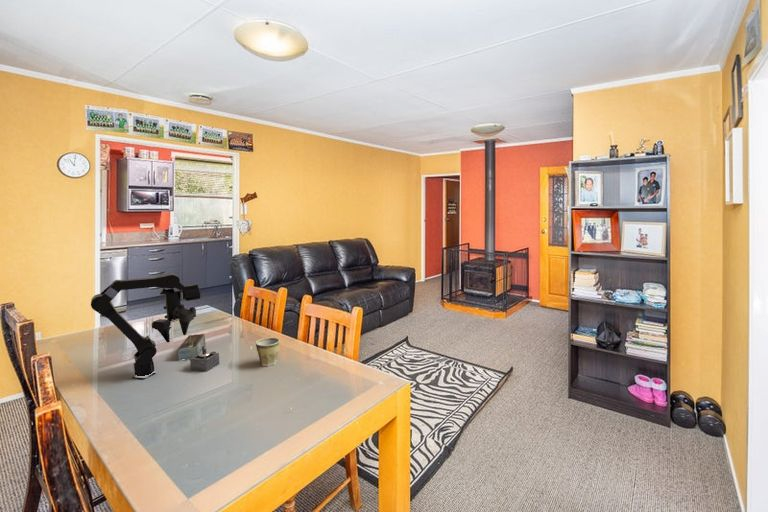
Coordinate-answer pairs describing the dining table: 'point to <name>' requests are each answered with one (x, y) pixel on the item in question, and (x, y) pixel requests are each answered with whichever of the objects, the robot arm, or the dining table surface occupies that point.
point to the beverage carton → (191, 346)
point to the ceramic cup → (268, 351)
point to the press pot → (204, 362)
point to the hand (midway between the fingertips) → (176, 338)
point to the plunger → (204, 352)
